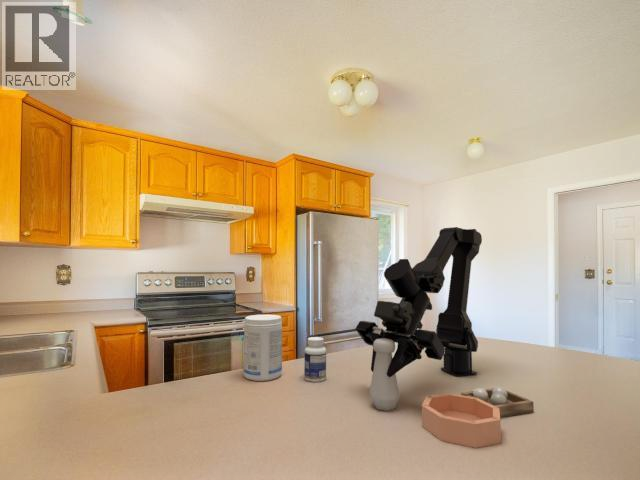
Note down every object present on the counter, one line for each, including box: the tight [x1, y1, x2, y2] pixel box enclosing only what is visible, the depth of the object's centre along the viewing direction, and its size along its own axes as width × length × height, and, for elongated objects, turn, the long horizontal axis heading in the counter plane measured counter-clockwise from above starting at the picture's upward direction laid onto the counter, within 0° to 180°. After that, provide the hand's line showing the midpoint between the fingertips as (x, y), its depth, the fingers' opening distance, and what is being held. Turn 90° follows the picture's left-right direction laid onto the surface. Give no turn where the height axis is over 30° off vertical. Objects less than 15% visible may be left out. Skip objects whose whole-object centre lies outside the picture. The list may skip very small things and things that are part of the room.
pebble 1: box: [472, 387, 488, 402], centre depth 68 cm, size 3×3×3 cm
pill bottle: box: [303, 336, 327, 383], centre depth 83 cm, size 5×5×10 cm
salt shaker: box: [369, 338, 401, 412], centre depth 67 cm, size 6×6×13 cm
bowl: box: [421, 392, 502, 449], centre depth 58 cm, size 12×12×4 cm
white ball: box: [492, 386, 508, 399], centre depth 68 cm, size 3×3×3 cm
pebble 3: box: [491, 393, 507, 406], centre depth 65 cm, size 3×3×3 cm
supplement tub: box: [243, 314, 283, 382], centre depth 85 cm, size 10×10×15 cm
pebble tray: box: [460, 387, 535, 419], centre depth 67 cm, size 10×8×2 cm
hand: (380, 373), depth 66 cm, fingers closed on salt shaker, 3 cm apart
